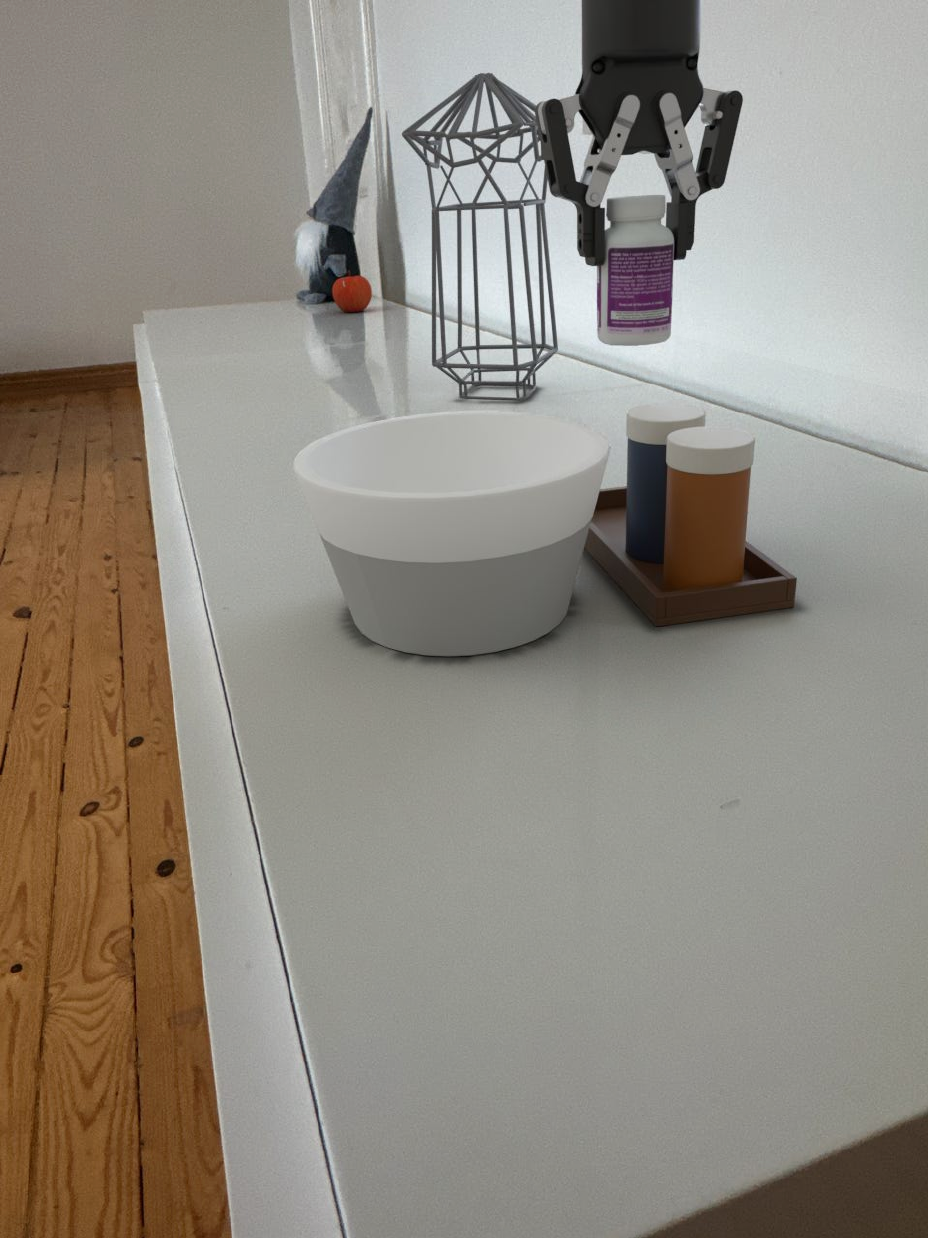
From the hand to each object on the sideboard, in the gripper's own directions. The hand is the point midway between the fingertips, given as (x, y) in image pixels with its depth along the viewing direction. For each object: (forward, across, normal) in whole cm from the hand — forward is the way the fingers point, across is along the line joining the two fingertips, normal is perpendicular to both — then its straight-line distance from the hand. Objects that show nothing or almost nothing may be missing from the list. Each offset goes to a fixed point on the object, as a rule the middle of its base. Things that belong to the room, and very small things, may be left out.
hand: (635, 260), depth 68 cm
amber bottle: (+19, 0, -14) cm, 24 cm away
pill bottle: (+6, 0, 0) cm, 6 cm away
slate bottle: (+19, 0, -7) cm, 20 cm away
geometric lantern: (+20, +1, +50) cm, 53 cm away
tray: (+19, 0, -7) cm, 21 cm away
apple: (+19, -8, +138) cm, 139 cm away
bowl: (+20, -16, -12) cm, 28 cm away
